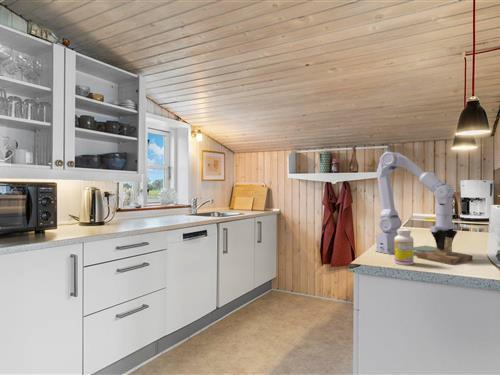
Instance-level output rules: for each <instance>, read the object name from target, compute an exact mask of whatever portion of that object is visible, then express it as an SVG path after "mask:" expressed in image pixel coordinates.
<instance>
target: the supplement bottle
mask: <svg viewBox="0 0 500 375" xmlns="http://www.w3.org/2000/svg"><path fill="white" fill-rule="evenodd" d="M411 231H412V230H411V229H408V228H399V229H397V233H398V236H396V237H395V253H394V263H395V264H397V265H402V266H411V265H413V264H414V260H415V258H414V253H415V252H414V251H415V250H413V247H414V238H413V237H412V235H411V233H412V232H411Z"/></svg>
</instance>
